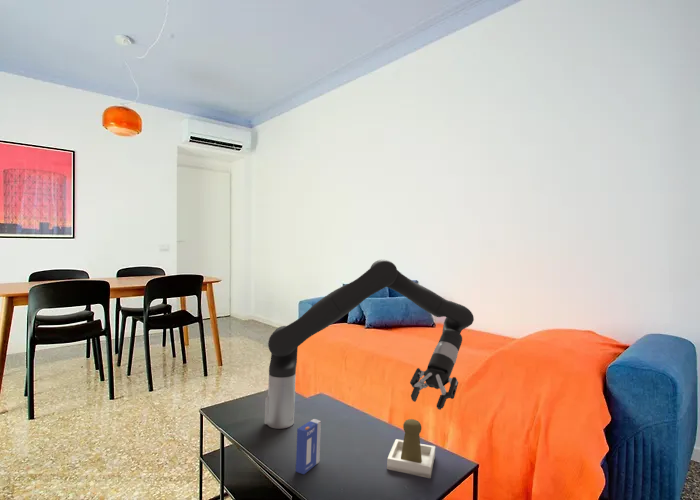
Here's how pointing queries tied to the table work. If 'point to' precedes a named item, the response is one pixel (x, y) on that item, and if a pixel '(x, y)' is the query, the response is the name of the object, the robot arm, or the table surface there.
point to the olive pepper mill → (411, 441)
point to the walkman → (308, 446)
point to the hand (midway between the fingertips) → (425, 404)
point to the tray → (408, 466)
